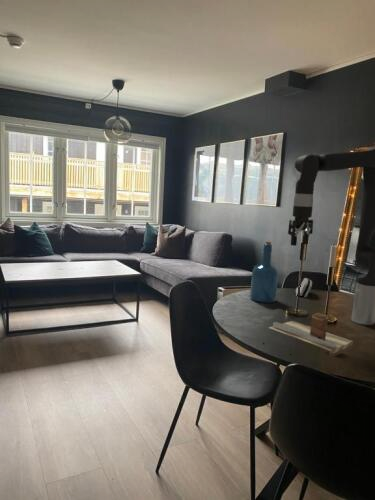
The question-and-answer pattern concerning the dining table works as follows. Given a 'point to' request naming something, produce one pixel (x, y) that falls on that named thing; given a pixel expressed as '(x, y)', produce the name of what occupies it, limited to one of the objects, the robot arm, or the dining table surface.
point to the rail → (304, 335)
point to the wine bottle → (264, 278)
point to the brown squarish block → (319, 325)
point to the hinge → (304, 287)
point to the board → (339, 343)
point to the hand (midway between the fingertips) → (299, 244)
